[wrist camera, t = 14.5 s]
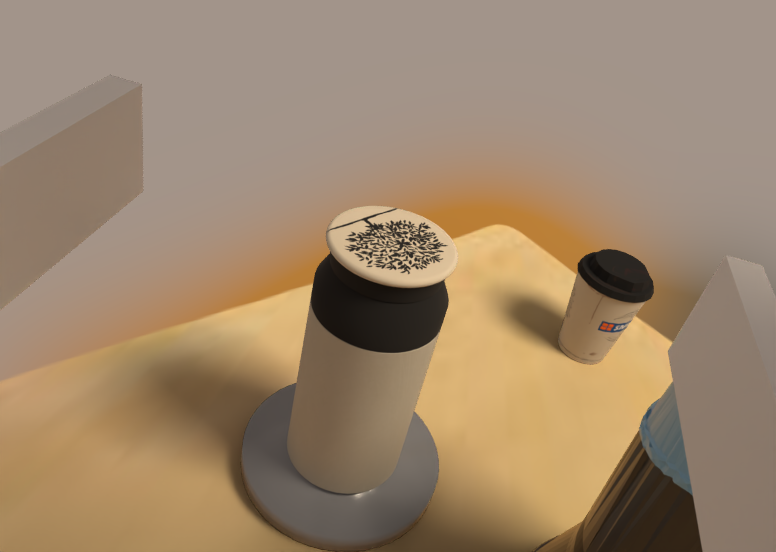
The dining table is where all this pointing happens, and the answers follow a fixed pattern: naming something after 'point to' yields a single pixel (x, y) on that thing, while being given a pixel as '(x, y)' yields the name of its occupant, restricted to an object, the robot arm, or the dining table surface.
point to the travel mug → (367, 345)
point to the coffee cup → (603, 303)
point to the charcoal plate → (326, 508)
